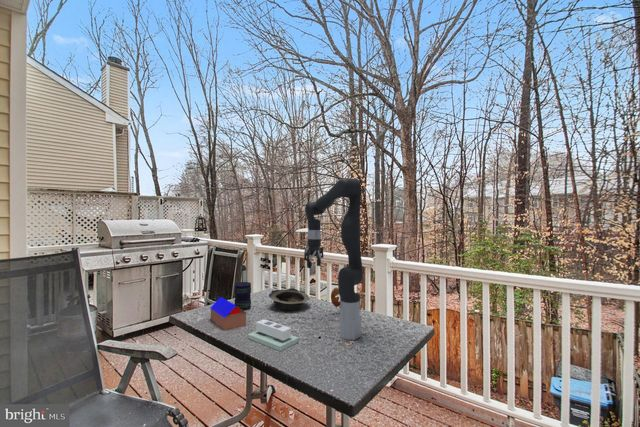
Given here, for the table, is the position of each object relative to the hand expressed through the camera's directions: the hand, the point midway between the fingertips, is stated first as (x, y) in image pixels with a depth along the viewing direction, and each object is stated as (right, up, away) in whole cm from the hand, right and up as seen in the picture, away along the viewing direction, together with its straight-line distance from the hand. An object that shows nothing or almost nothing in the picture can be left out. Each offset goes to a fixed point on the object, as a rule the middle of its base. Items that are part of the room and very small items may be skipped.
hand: (314, 267), depth 176 cm
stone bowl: (-15, -28, +18) cm, 37 cm away
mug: (+17, -28, +6) cm, 34 cm away
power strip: (-18, -28, -31) cm, 46 cm away
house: (-45, -28, -9) cm, 54 cm away
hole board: (-18, -28, -31) cm, 46 cm away
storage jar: (-43, -28, +15) cm, 54 cm away
